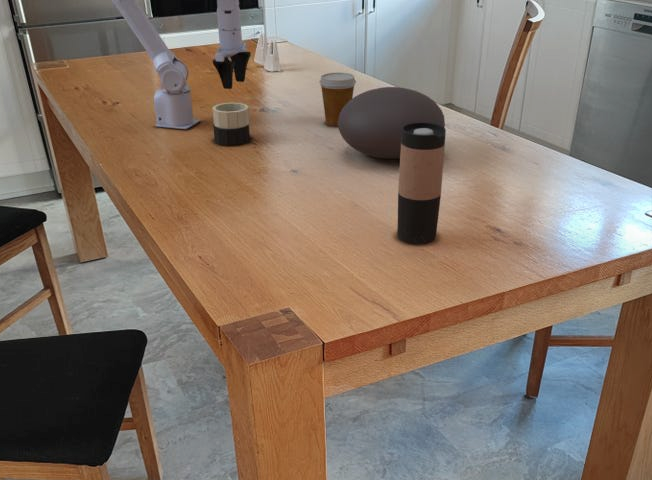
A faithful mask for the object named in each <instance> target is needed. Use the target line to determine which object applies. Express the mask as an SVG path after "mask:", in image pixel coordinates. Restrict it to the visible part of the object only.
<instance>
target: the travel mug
mask: <svg viewBox="0 0 652 480" xmlns="http://www.w3.org/2000/svg"><path fill="white" fill-rule="evenodd" d="M446 132H447V130H446V127H443V126H441V125H438V124H434V123H425V122H419V123H411V124H407V125H405V126H403V128H402V137H401V153H400V158H399V170H398V172H399V174H398V190H397V238H398V239H399V241H401V242H402V243H405V244H408V245H414V246H415V245H416V246H417V245H421V246H422V245H427V244H431V243H432V242H434V241H435V240H436V238H437V231H438V222H439V214H440V207H441V206H440V205H441V198H442V197H441V196H442V188H443V187H442V185H443V173H444V172H443V171H444V161H445V160H444V159H445V146H446V135H447V133H446Z"/></svg>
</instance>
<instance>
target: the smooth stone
mask: <svg viewBox="0 0 652 480" xmlns="http://www.w3.org/2000/svg"><path fill="white" fill-rule="evenodd" d="M419 122H425V123H434V124H438V125H441V126H443V127H444V128H446V121H445V115H444V112H443V110H442V108H441V107H440V106H439V105H438V104H437V102H436V101H435V100H433V99H432V98H431V97H429V96H427V95H426V94H424V93H422V92H419V91H417V90H414V89H412V88H411V89H410V88H406V87H400V86H399V87H398V86H385V87H378V88H374V89H373V88H372V89H368V90H366V91H364V92H361V93H359V94H357V95H355V96H353V98H352V99H351V100H350V101H349V102H348V103H347V104H346V105H345V106H344V107H343V108H342V110H341V112H340V115H339V119H338V126H337V128H338V131H339V134H340V136H341V138H342V139H343V140H344V141H345V142H346V144H347V145H348V146H349V147H351V148H353V150H354V149H355V150H356V151H357V152H359V153H361V154H364V155H366V156H369V157H372V158H378V159H384V160H396V159H397V160H398V159H399V160H400V153H401V137H402V128H403V126H405V125H407V124H411V123H419Z"/></svg>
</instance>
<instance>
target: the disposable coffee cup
mask: <svg viewBox="0 0 652 480" xmlns="http://www.w3.org/2000/svg"><path fill="white" fill-rule="evenodd" d="M356 83H357V80H356V79H355V75H354V74H353V73H348V72H328V73H323V74H322V75H321V76H320V80H319V86H320V87H321V95H322V103H323V111H324V118H325V125H327V126H330V127H338V119H339V115H340V112H341V110H342V108H343V107H344V106H345V105H346V104H347V103H348V102H349V101H350V100H351V99H353V98H354V89H355V85H356Z"/></svg>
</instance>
